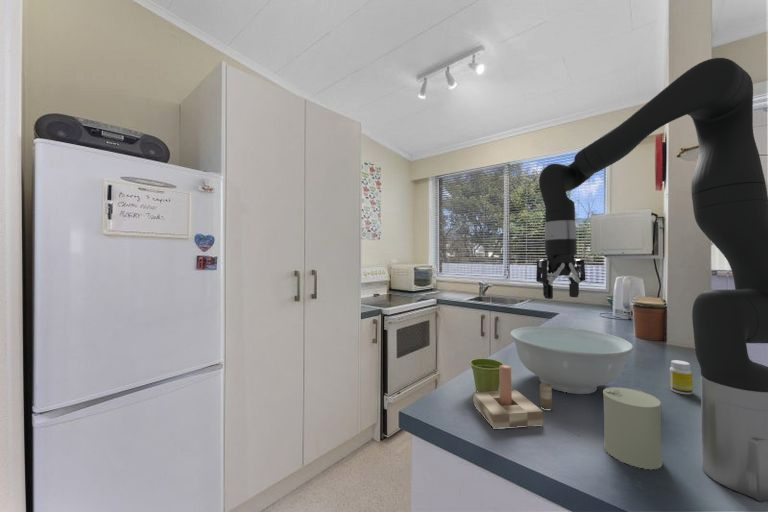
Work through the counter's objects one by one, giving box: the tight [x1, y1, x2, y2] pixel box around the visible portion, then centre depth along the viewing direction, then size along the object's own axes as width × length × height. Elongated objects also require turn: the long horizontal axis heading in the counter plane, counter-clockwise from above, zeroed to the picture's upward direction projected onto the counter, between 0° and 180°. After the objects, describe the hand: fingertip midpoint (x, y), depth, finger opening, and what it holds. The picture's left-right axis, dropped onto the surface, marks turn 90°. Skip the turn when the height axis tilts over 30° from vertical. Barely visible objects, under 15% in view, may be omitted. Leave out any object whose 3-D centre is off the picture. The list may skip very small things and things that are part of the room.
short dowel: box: [539, 382, 553, 410], centre depth 82 cm, size 3×3×6 cm
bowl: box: [509, 326, 634, 395], centre depth 98 cm, size 32×32×15 cm
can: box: [602, 386, 664, 471], centre depth 63 cm, size 9×9×12 cm
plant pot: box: [469, 357, 505, 392], centre depth 92 cm, size 9×9×9 cm
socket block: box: [472, 389, 544, 428], centre depth 79 cm, size 12×12×4 cm
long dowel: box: [499, 364, 513, 406], centre depth 79 cm, size 3×3×12 cm
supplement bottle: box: [669, 359, 693, 395], centre depth 91 cm, size 5×5×8 cm
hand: (561, 297), depth 86 cm, fingers open, 8 cm apart
